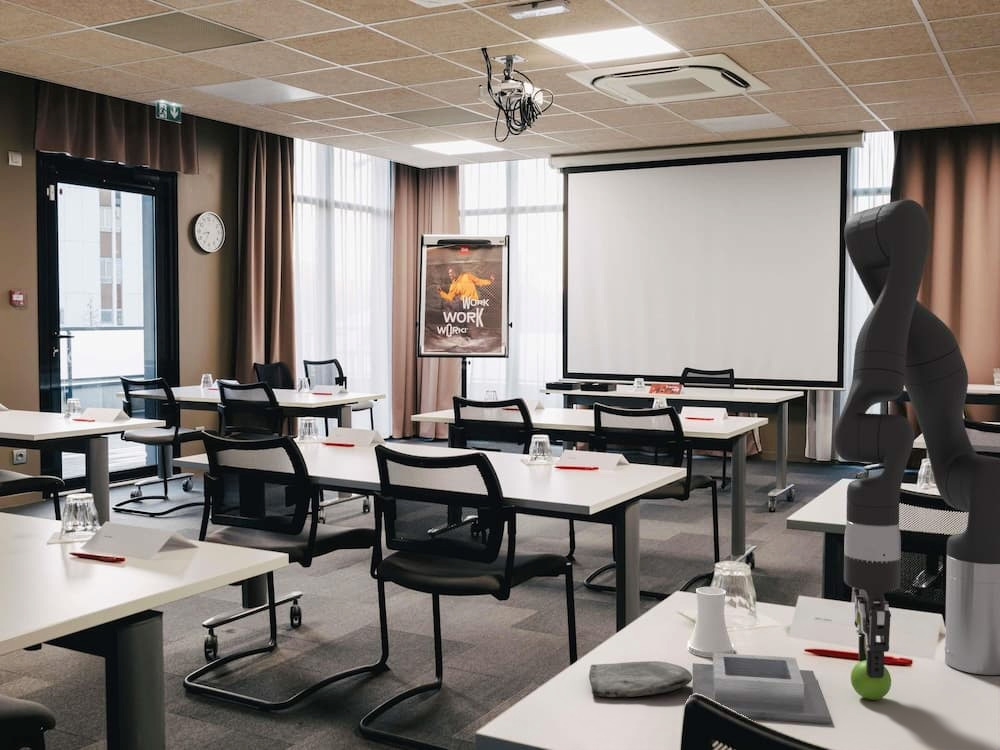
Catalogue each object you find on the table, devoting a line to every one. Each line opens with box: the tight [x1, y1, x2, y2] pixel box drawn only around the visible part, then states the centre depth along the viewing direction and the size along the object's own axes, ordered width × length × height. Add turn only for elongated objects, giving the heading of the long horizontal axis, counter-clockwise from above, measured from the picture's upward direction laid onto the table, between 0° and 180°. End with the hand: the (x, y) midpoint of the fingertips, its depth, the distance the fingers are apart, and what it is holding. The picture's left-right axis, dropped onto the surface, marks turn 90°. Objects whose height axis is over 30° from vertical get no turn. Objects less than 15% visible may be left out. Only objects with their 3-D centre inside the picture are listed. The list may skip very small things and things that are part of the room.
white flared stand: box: [686, 586, 735, 658], centre depth 158 cm, size 8×8×10 cm
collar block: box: [692, 653, 831, 725], centre depth 139 cm, size 18×18×4 cm
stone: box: [588, 660, 693, 699], centre depth 141 cm, size 11×4×15 cm
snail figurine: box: [850, 626, 892, 701], centre depth 137 cm, size 5×6×12 cm
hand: (870, 668), depth 137 cm, fingers closed on snail figurine, 5 cm apart
